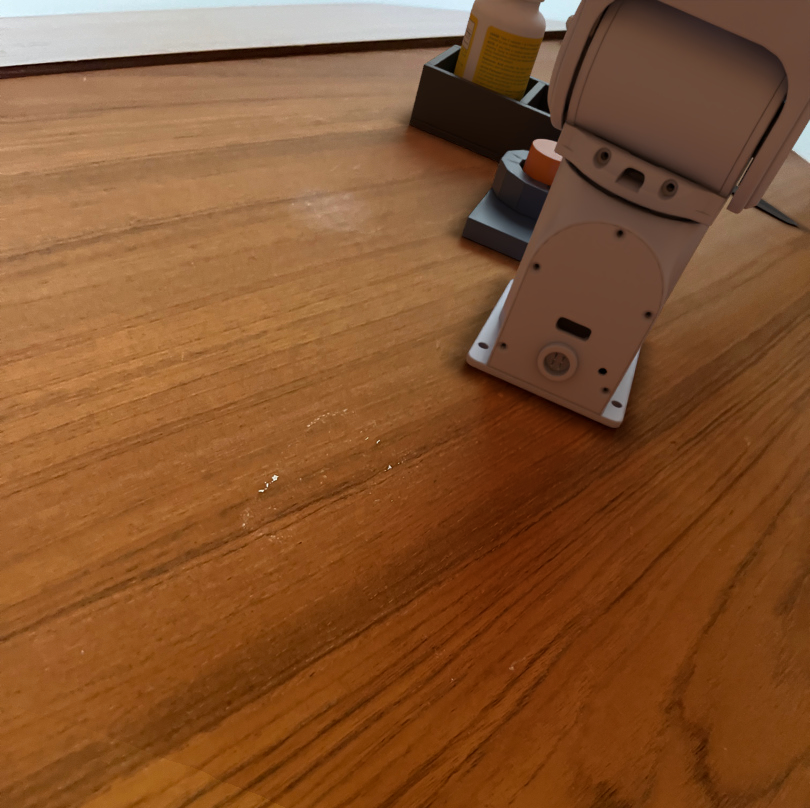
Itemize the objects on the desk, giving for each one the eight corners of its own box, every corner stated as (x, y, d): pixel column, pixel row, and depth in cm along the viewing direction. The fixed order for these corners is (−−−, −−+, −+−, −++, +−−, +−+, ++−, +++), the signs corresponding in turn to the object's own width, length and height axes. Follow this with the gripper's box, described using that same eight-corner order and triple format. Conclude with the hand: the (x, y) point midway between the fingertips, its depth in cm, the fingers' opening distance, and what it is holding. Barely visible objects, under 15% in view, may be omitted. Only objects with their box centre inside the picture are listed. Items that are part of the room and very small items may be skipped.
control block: (583, 288, 45) (606, 241, 42) (460, 235, 45) (476, 186, 43) (607, 232, 51) (627, 188, 49) (499, 186, 52) (515, 141, 49)
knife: (798, 230, 62) (801, 219, 64) (802, 225, 62) (804, 214, 64) (629, 151, 64) (637, 142, 66) (631, 145, 64) (639, 137, 66)
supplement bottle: (524, 135, 58) (578, -15, 51) (477, 138, 54) (527, -21, 47) (477, 103, 60) (522, -45, 53) (429, 105, 57) (470, -53, 49)
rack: (594, 203, 54) (620, 146, 51) (408, 124, 55) (423, 64, 52) (609, 171, 59) (633, 118, 57) (440, 99, 60) (455, 44, 57)
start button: (564, 197, 46) (576, 168, 45) (517, 176, 46) (527, 147, 45) (573, 181, 48) (585, 153, 47) (528, 161, 49) (538, 133, 47)
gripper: (801, -229, 42) (676, 44, 51) (814, -254, 32) (655, 92, 41) (921, -183, 41) (771, 84, 51) (971, -194, 31) (774, 141, 41)
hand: (726, 90), depth 46 cm, fingers closed
